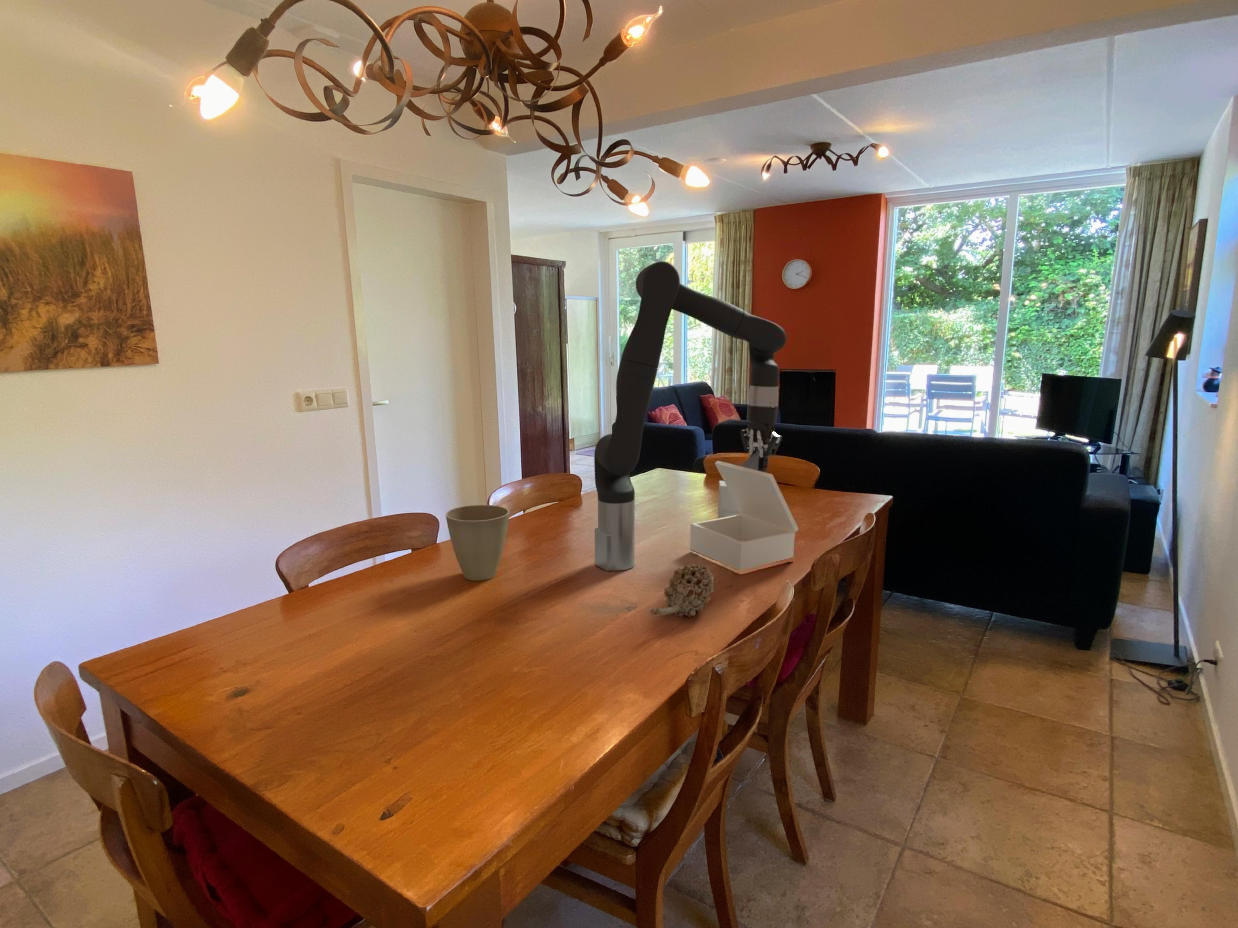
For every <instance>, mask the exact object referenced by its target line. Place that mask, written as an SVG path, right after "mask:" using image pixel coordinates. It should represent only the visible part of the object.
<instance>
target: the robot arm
mask: <svg viewBox="0 0 1238 928" xmlns="http://www.w3.org/2000/svg"><path fill="white" fill-rule="evenodd" d="M680 279H681V278H680V274H679V271H678V269H677V268H676V267H675V266H674V264H672V263H670V262H668V261H657V262H654V263H651V264H649V265H648V266H645V267H644V268H643V269H642V270H641V271H640V272H639V273H638V275H637V276H636V279H635V290H636V292H637V294H638V295H639V297H640V303H639V308H638V309H639V310H638V313H637V317H636V321H635V323H634V326H633V328H632V330H631V332H630V334H629V336H628V339H627V341H626V343H625V346H624V347H623V350H622V354H621V358H620V360H619V361H620V362H619V365H618V371H617V375H616V381H615V382H616V383H615V395H616V416H615V419H614V421H615V422H614V425H613V429H612V431H611V433H608V434H606V435H603V436H602V437H600V439H599V440H598V441H597V443H596V445H595V448H594V453H593V454H594V457H593V458H594V459H593V460H594V463H593V464H594V465H593V466H594V483H595V488H596V491H597V492H596V493H597V527H595V529H594V564H595V565H596V566H598V567H599V568H601V569H602V570H604V571H605V572H609V571H626V570H629V569H631V568H634V566H635V509H636V506H635V503H636V501H635V500H636V499H635V497H636V496H635V494H636V493H635V487H634V486H633V485H634V484H633V483H632V480H631V475H630V474H631V473H632V472H633V471H634V470H635V468H636V467H637V464H638V463H639V460H640V457H641V455H640V454H641V448H642V447H641V446H642V441H643V434H644V433H643V432H644V428H645V427H644V426H645V423H646V422H645V421H646V417H647V413H648V409H649V406H650V402H651V397H652V394H653V390H654V386H655V382H656V378H657V373H658V370H659V365H660V359H661V356H662V352H663V351H662V350H663V346H664V340H665V335H666V329H667V325H668V321H669V319H670V315H671V312H672V310H673V311H676V312H678V313H680V314H682V315H683V314H684V315H685V316H686V315H687V316H688V317H691V318H693V319H695V320H697V321H699V322H701V323H703V324H705V325H707V326H708V327H711V328H713V329H715V330H717V331H718V332H721V333H723V334H725V335H727V336H729V337H731V338H734V339H737V340H742V341H745V342H747V343H748V354H749V363H750V367H751V368H750V369H751V370H750V381H749V390H748V396H747V399H748V400H747V409H746V411H747V412H746V420H747V423H748V425H747V428H746V429H740V430H739V433H740V434H739V435H740V437H741V438H740V439H741V442H742V445H743V449H744V451H745V452H746V453H748V454H749V458H750V457H751V456H752V455H753V454H754V453H755V452H756V451H757V450H760V457H759V466H758V471H761V472H766V471H767V469H768V466H769V465H768V463H769V460H768V459H769V458H770V457H774V456H775V455H776V453H777V451H778V449H779V447H780V445H781V443H782V441H783V436H782V435H779V434H777V433H776V430H775V424H776V423H777V421H778V420H777V419H778V408H779V406H778V405H779V380H780V367H779V365H778V364H777V363H776V362H775V353H777V352H779V351H780V350H782V349H783V348H784V346H785V345H786V342H787V334H786V332H785V329H784V328H783V327H782V326H780V325H779V324H777V323H775V322H772V321H770V320H768V319H765V318H762V317H759V316H757V315H753V314H750V313H749V312H747V311H745V309H742V308H739V307H738V306H736V305H734V304H733V303H730V302H728V301H725V300H722V299H721V298H717V297H715V296H711V295H707V294H705V293H703V292H702V293H701V292H699V291H697V290H694V289H691V288H689V287H688V286H686V285H684V284H683V283H681V280H680ZM764 451H765V452H764Z"/></svg>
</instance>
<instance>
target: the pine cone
mask: <svg viewBox="0 0 1238 928" xmlns="http://www.w3.org/2000/svg"><path fill="white" fill-rule="evenodd" d="M714 578H715V575H714V574H712V571H711V570H710V569H708V566H705V565H703V564H702V563H700V564H699V565H697V566H695V563H693V565H692V564H690V565H689V566H688V565H687V564H685V565H683V567H682V568H681V567H678V568H676V570H673V575H672V577H670V578H669V581H668V585H669V586H668V587H664V588H663V592H664V593H663V595H664V597H666V599H665V600H664V603H665V604H666V605H667V607H666V608H659V607H651V608H650V609H649V612H648V614H649V615H653V616H666V615H671V614H673V613H675V615H676V616H677V617H678V616H679V617H680V616H682V617H683V615H686V616H688V617H689V618H691V617H692V616H693V617H694V616H695V615H696V611H702V610H703V608H704V606H705V603H709V600H711V596H710V594H712V592H714V589H715V585H714Z"/></svg>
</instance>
